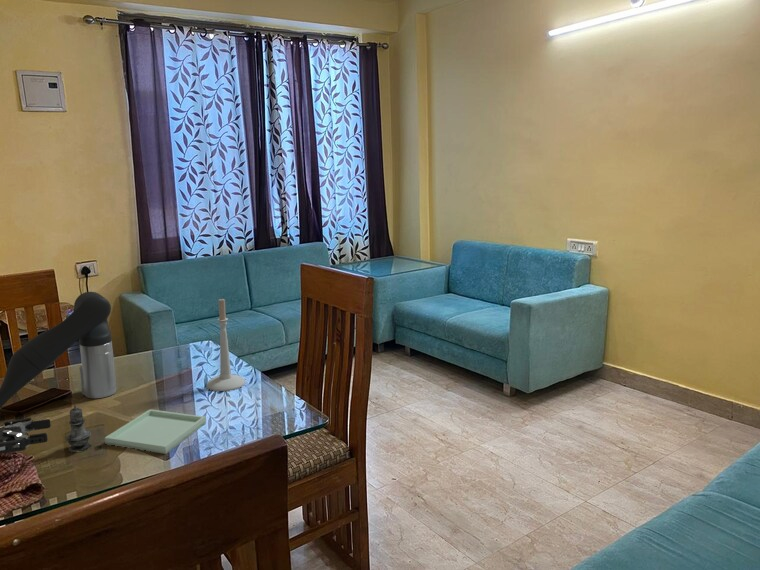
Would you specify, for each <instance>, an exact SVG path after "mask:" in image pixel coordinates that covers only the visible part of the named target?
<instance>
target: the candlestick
mask: <svg viewBox="0 0 760 570" xmlns="http://www.w3.org/2000/svg"><path fill="white" fill-rule="evenodd" d="M218 313H219V316H218V317H219V318H216V319H217V321H218V325H219V327H220V329H219V332H220V334H219V338H220V339H219V340H220V341H219V343H220V344H219V345H220V346H219V347H220V349H219V351H220V352H219V359H220V360H219V367H220V368H219V369H220V370H219V373H220V374H219V375H217V376H214V377H212V378H211V379H209V380H208V381H207V383H206V389H208V390H209V389H210V391H212V390H213V391H212V392H217V391H226V392H231V391H230V390H233V391H236V390H239V389H241V388H243V387H244V386H246V384H245V383H247V381H246V379H245V378H244V377H243V376H240V375H237V374H232V369H231V361H230V351H229V342H228V334H227V325H228V320H229V318H227V317H226V315H227V314H226V299H224V298H222V297H221V299H220V298H219V299H218ZM242 386H243V387H242ZM240 387H241V388H240ZM238 388H239V389H238ZM235 389H236V390H235Z"/></svg>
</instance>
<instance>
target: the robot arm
mask: <svg viewBox="0 0 760 570" xmlns="http://www.w3.org/2000/svg"><path fill="white" fill-rule="evenodd" d="M73 303H74V304H73V311H72V313H70V315H68V316H67V317H66V318H65V319H64V320H62V321H61V322H60V323H59V324H57V325H55V326H53V327H51V328H48V329H47V330H45V331H43V332H41V333H39V334H37V335H36V336H34V337H33V338H31V339H30V340H28V341H27V342H26V343H25V344H23V345H22V346H21V347H20V348H18V349H17V350H16V351H15V352H14V353H13V354H12V356H11V358H10V360H9V363H8V365H7V368H6V372H5V375H4V379H3V381H2V384H1V386H0V409H1V408H2V407H3V406H4V405H5V404H6V403H7V402H8V401H9V400H10V399H11V398H12V397H13V396H15V395H16V394H17V393H18V392H19V391H20V390H21V389H23V388H24V387H25V386H26V385H28V384H29V383H30V382H31V381H32V380H33V379H35V378H36V377H38V376H39V375H40V374H42V372H44V371H45V370H46V369H48V368H49V367H50V365H52V364H53V363H54V362H55V361H56V360H58V358H60V356H62V355H63V354H65V352H67V351H68V350H69V349H70V348H71V347H72V346H74V344H75V343H77V341H78V342H79V351H80V359H81V365H80V367H79V376H80V386H81V394H82V396H85V397H86V398H89V399H102V398H106V397H110V396H112V395H114V394H116V392H117V381H116V371H115V370H116V369H115V360H114V350H113V341H112V340H113V339H112V333H111V330H110V327H109V322H108V318H109V317H110V314H111V312H112V307H111V306H112V305H111V303H110V301H109V300H108V299H107V298H105V297H104V296H103V295H101V294H100V293H98V292H96V291H85V292H83V293H81V294H80V295H78V296H77V297H76V299H75V301H74V302H73ZM3 425H4V426H3V427H0V454H6V453H14V452H22V451H25V450H26V448H28V447H29V446H30V445H37V444H43V443H47V442H48V433H47V432H41V433H36V434H35V433H34V434H29V435H27V434H28V433H30V432H32V431H37V430H43V429H45V430H46V429H50V428H51V426H52V425H51V419H39V420H33V419H32V417H25V418H20V419H19V418H17V419H14V420H13V419H12V420H6V421H4V422H3Z"/></svg>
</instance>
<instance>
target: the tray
mask: <svg viewBox="0 0 760 570" xmlns="http://www.w3.org/2000/svg"><path fill="white" fill-rule="evenodd" d="M206 418H207V416H203V415H195V414H188V413H180V412H173V411H166V410H165V411H163V410H158V409H152V408H151V409H148V410H147V411H145V412H144V413H142V414H140V415H139V416H137V417H136V418H134V419H132V420H130V421H128V422H127V423H126V424H124V425H122V426H121V427H119V428H118V429H116V430H114V431H112V433H109V434H108V435H107V436H105V437H104V445H105V444H107V445H106V446H111V445H115V446H114V447H117V446H123V447H122V448H124V447H129V448H128V449H130V448H135V449H134V450H137V449H140V450H139V451H144V450H146V451H145V452H150V451H151V452H150V453H156V454H157V453H158V454H164V455H167V454H168V453H170V452H171V451H172V450H174V449H175V448H176V447H177V446H178V445H180V444H181V443H183V442H184V441H185V440H186V439H188V438H189V437H191V435H193V434H194V433H195V432H197V431H198V430H199V429H200V428H202V427H203V426H204V425H206V424H207V419H206Z"/></svg>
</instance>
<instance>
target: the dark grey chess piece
mask: <svg viewBox="0 0 760 570" xmlns="http://www.w3.org/2000/svg"><path fill="white" fill-rule="evenodd" d="M69 418H70V419H69V420H70V421H69V423H68V424H69V425H70V433H68V434H67V435H66V436H65V440H66V441H67V442H68V444H69V445H70V447H68V452H69V451H70V452H69V453H72V452H77V451H83V452H85V451H84V450H86V451H88V450H89V449H91V447H92V444H91V443H90V442H89V441H90V438H91V434H92V432H91V430H87V429H86V428H85V424H84V422H85V419H84V416H83V410H82V409H81V408H80V407H77V405H76V404H74V406H73V408H71V409H70V410H69ZM90 446H91V447H90ZM88 448H89V449H88ZM87 449H88V450H87Z"/></svg>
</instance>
